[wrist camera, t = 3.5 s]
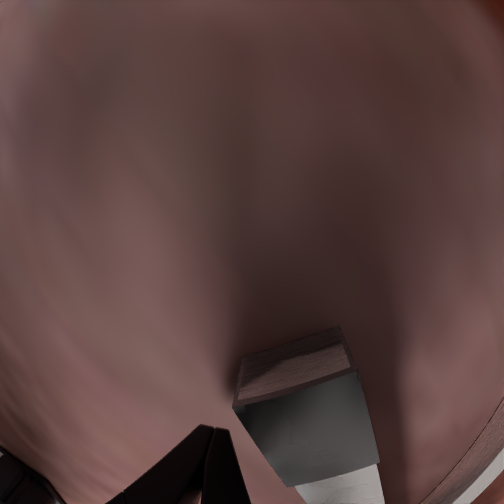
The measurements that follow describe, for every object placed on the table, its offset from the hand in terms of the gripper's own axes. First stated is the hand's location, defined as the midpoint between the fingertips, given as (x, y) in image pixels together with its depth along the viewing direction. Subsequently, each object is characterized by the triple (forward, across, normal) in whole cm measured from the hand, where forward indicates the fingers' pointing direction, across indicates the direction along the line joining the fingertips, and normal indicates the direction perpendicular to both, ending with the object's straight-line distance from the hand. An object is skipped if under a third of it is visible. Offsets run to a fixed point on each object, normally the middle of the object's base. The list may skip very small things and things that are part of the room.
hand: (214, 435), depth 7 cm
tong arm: (+1, -6, +5) cm, 8 cm away
